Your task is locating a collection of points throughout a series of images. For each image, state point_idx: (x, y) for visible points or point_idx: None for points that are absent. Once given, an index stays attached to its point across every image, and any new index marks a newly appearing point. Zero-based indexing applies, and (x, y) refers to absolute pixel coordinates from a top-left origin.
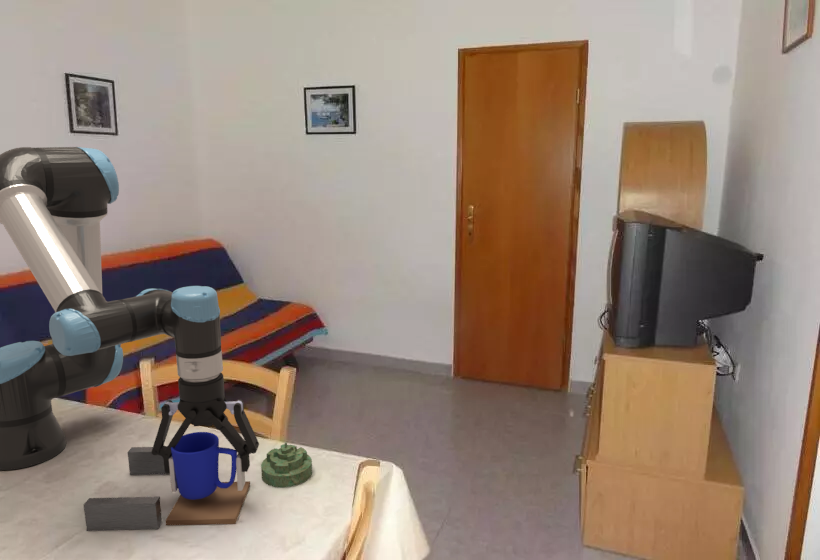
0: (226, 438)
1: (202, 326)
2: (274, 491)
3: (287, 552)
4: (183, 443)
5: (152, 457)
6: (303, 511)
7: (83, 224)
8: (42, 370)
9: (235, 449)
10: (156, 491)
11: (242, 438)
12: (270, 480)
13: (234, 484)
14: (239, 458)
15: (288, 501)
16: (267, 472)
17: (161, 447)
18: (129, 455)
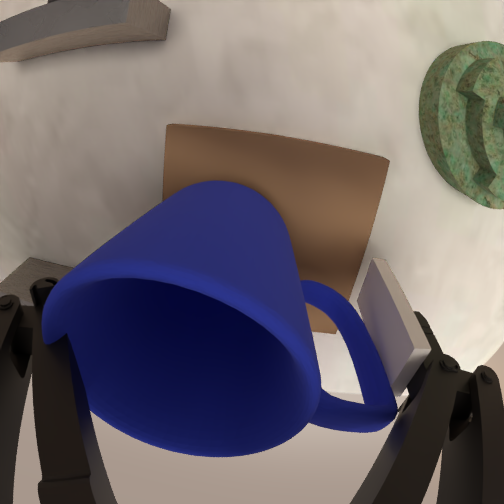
0: (364, 482)
1: None
2: (444, 207)
3: (406, 394)
4: (85, 291)
5: (27, 47)
6: (473, 303)
7: None
8: None
9: (393, 426)
10: (91, 139)
11: (451, 410)
12: (448, 179)
13: (338, 166)
14: (397, 395)
15: (461, 262)
16: (453, 167)
17: (26, 345)
18: None
